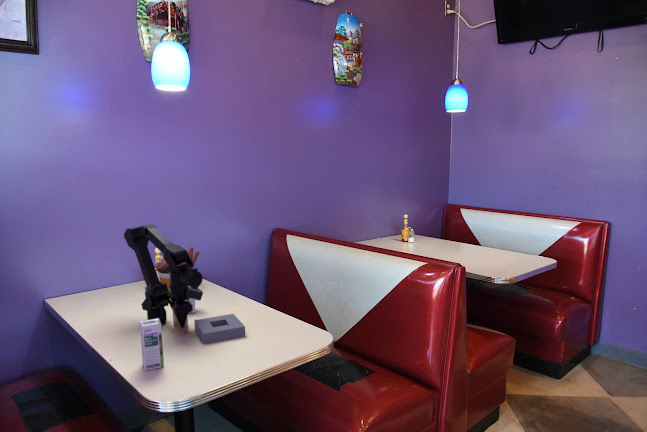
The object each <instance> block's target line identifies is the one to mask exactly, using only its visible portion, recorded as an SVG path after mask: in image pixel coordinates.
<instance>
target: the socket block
mask: <svg viewBox="0 0 647 432" xmlns="http://www.w3.org/2000/svg"><path fill="white" fill-rule="evenodd" d="M240 320H241V319H239V318H238V317H237V316H236V315H235V314H234V313H230V314H224V315H218V316H211V317H206V318H200V319H194V330H195V332H196V334H197V335H198V336H199V338H200V340H201V342H202V343H203V344H210V343H214V342H215V343H216V342H221V341H225V340H226V341H227V340H231V339H236V338H241V337H245V336H246V326H245V325H244V324H243V322H242V321H240Z"/></svg>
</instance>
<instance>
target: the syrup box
mask: <svg viewBox="0 0 647 432" xmlns="http://www.w3.org/2000/svg"><path fill="white" fill-rule="evenodd" d="M139 330H140V332H139V333H140V343H141V344H140V345H141V358H142V365H143V369H144V371H145V372H147V371H150V370H155V369H160V368H164V367H165V364H164V350H163V349H164V348H163V346H164V344H163V333H162V332H163V331H162V330H163V329H162V325H161V322H160V320H159V318H156V319H151V320H147V319H146V320H141V321H139Z"/></svg>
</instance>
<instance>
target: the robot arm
mask: <svg viewBox="0 0 647 432" xmlns="http://www.w3.org/2000/svg"><path fill="white" fill-rule="evenodd" d="M123 237H124V239H125V242H126V244H127V245H128V247H129V248H130V249H132V251H134V253H135V255H136V258H137V263H138V264H139V268H140V270H141V273H142V277H143V279H144V282H145V290H144V296H145V299H144V300H143V302H142V303H141V308H142V310H143V311H146V317H147V319H146V320H151V319H156V318H159V320H160V322H161V326H162V325H166V324H167V318H168V317H167V316H168V315H167V309H165V307H169V306H170V308H171V310H172V312H173V309H174V313H175V315H176V318H177V320H178V322H179V324H180V326H181V328H184V327H185V322H186V318H187V316H189V315H188V314H191V313H190V312H191V311H193V305H192V304H191V303H190V302H189V301H185V300H189V298H192V299H197V300H196V301H202V297H203V294H204V292H203V290H202V289H200V288H199V289H198V286H199V287H200V286H201V285H202V283H203V278H204V277H203V275H202V273H201V272H200V271H199V270H198V268H197V267H195V264H193V261H192V260H191V258H190V256H189V254H188V251H187V249H186V248H184V247H182V246H181V245H179V244H175V243H173V242H172V241H171V240H170V239H169V238H167V237H166V236H165V235H164V234H163V233H162V232H161V231H160V230H158V229H157V226H156V225H155V224H152V223H151V224H145V225H141V226H134V227H129V228H126V229H125V231H124V233H123ZM149 242H150V243H151V244H153V246H154V247H155V248H157V249H158V250H159V251H160V253H162V256H163V259H164V260H165V261H166V263H167V264H168V265H169V266H168V267H167V268H166V270H169V271H170V289H171V292H169V290H168V288H167V284H166V283H164V284H163V283H161V281H160V278H159V275H158V272H157V270H156V266H155V264H154V262H153V258H152V256H151V253H150V251H149V247H148V245H149ZM184 263H187V264H184ZM180 264H183V265H180ZM177 265H179V266H177ZM191 267H193V268H191ZM188 286H191V287H188ZM172 307H173V308H172Z"/></svg>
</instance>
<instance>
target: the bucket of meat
mask: <svg viewBox="0 0 647 432" xmlns="http://www.w3.org/2000/svg"><path fill="white" fill-rule="evenodd" d="M187 252H188V254H189V256H190V258H191V260H192V261H193V264H194V265H195V263H196V262H197V260H198V257H199V255H200V251H199V250H197V251H195V252H194V247H193V246H190V247H189V250H188V251H187ZM184 264H187V263H184ZM180 265H183V264H180ZM168 266H169V265H168V264H167V263H166V261H165V260H164V259H163V255H162V256H159V257H157V260H155V270H156V272H157V275H158V278H159V281H160V282H161V283H163V284H164V283H166V284H167V288H168V290H169V292H171V289H170V271H169V270H166V268H167V267H168ZM177 266H179V265H177ZM191 268H194V267H191Z"/></svg>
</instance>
